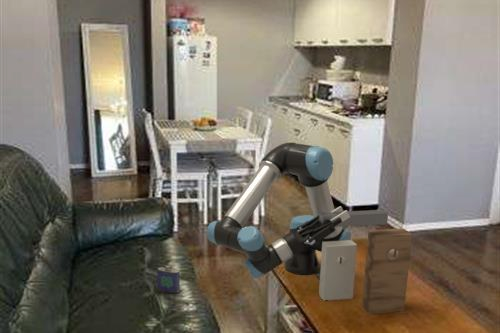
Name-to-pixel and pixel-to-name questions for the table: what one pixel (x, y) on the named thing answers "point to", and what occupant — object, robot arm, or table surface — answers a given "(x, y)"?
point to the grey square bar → (356, 218)
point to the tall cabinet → (386, 270)
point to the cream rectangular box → (337, 270)
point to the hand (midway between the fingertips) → (345, 211)
